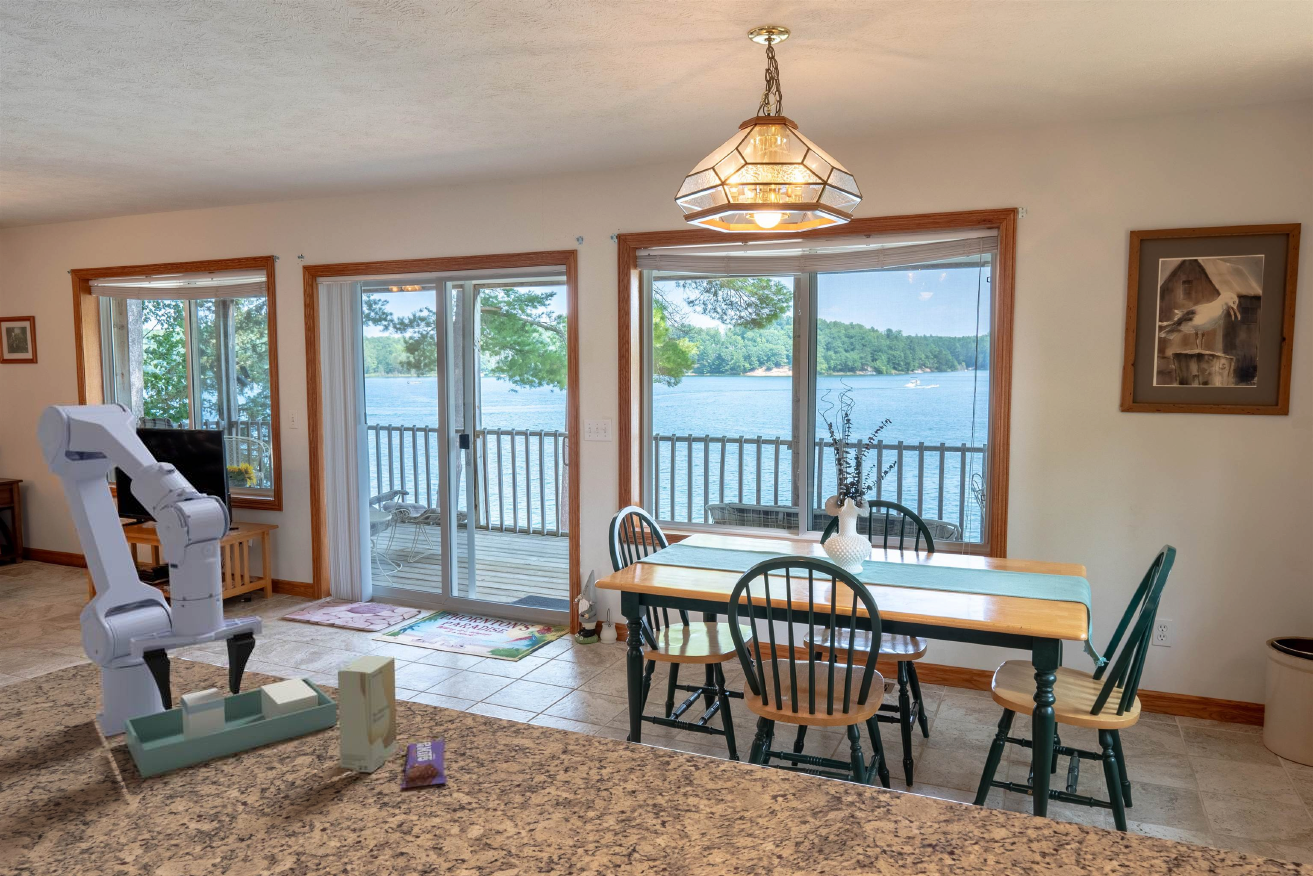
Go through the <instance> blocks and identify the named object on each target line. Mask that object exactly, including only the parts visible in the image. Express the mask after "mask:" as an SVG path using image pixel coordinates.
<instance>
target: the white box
mask: <svg viewBox="0 0 1313 876" xmlns="http://www.w3.org/2000/svg"><path fill="white" fill-rule="evenodd" d="M260 689H261V699H262V715H263V716H264V717H265V718H266V719H270V718H274V717H278V716H282V715H286V714H290V713H294V712H298V711H302V710H306V709H310V708H314V707H318V694H317V693H316V692H314V691H313V690H312V689H311V688H310V687H309V686H308V685H306V684H305V683H304V682H303V681H302V680H301V678H300V677H297V678H292V679H288V680H284V681H278V682H275V683H270V684H266V685H261V686H260Z"/></svg>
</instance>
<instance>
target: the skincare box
mask: <svg viewBox="0 0 1313 876" xmlns="http://www.w3.org/2000/svg"><path fill="white" fill-rule="evenodd" d="M395 662H396V661H395V657H393V656H379V655H377V656H376V655H363V656H361V657H359V658H357V659H355V660H354V661H352V662H350V663H348V664H347V665H346V666H343V668H340V669H339V670H337V685H338V687H337V689H338V690H337V691H338V692H337V693H338V695H337V696H338V720H339V721H338V722H339V725H338V726H339V727H338V728H339V729H338V730H339V731H338V732H339V757H340V758H339V760H340V761H339V764H340V766H339V767H340V768H342V769H350V771H351V772H358V773H359V772H360V773H373V772H375V771H376V770H377V769H379V767H381V766H382V765H383V764H384V763H386V762H387V761H388V760H389V759H388V758H389V757H390V756H391V755H392V754H393V753H394V752H395V751H396V750H397V748H398V747H397V746H398V745H397V743H398V741H397V739H398V737H397V707H396V706H397V704H396V701H397V700H396V672H395V670H396V668H395Z"/></svg>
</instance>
